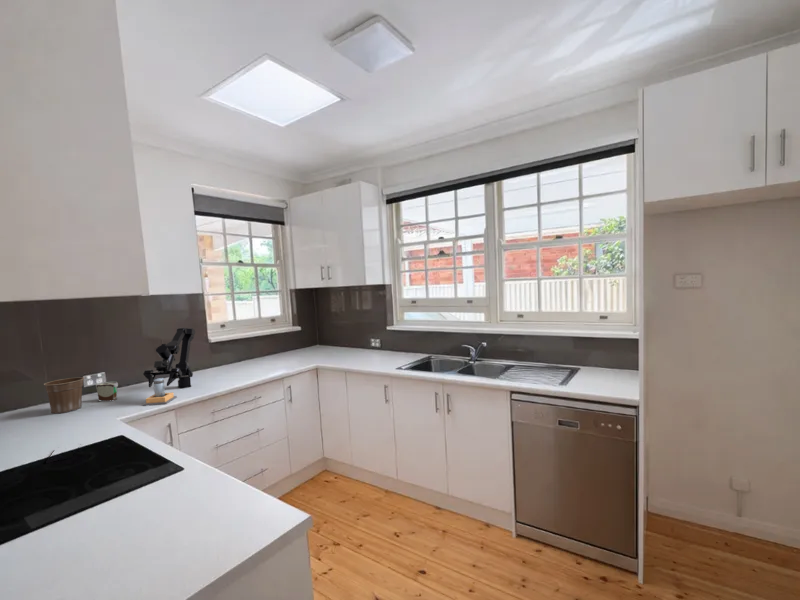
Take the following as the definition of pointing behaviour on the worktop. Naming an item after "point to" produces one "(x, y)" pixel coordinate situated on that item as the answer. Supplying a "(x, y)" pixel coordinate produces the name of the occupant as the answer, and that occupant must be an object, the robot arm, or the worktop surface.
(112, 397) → the food container
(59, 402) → the plant pot
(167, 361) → the robot arm
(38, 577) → the worktop surface
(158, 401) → the dock
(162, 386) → the canister
